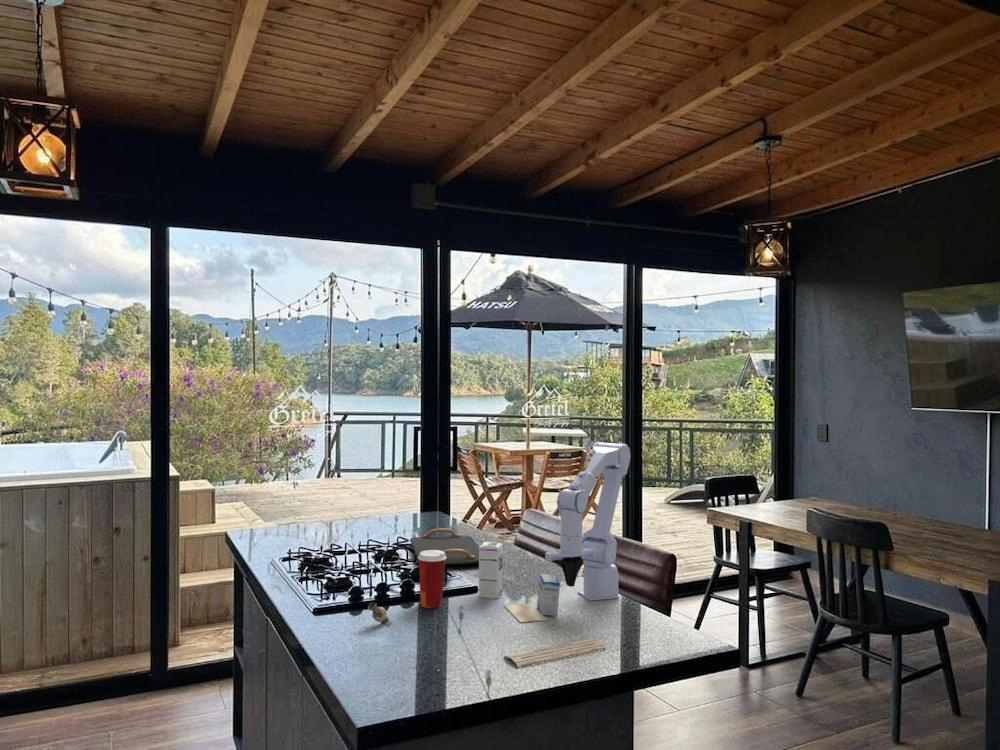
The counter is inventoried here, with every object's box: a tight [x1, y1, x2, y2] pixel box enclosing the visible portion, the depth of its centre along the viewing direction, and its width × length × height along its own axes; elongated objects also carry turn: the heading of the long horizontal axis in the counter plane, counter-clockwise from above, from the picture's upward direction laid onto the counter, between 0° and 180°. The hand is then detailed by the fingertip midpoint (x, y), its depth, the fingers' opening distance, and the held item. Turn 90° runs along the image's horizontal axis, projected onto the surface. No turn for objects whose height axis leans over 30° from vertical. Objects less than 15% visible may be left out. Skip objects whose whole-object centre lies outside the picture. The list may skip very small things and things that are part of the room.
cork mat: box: [504, 602, 549, 624], centre depth 186 cm, size 8×13×1 cm, turn 18°
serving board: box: [409, 527, 480, 567], centre depth 245 cm, size 39×23×6 cm, turn 12°
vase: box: [367, 601, 393, 629], centre depth 175 cm, size 5×5×6 cm
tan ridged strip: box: [503, 638, 607, 669], centre depth 160 cm, size 24×7×2 cm, turn 119°
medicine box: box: [536, 573, 561, 617], centre depth 188 cm, size 8×4×9 cm, turn 5°
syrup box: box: [478, 541, 504, 600], centre depth 201 cm, size 6×6×14 cm
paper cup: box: [417, 550, 446, 609], centre depth 191 cm, size 8×8×14 cm
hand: (570, 585), depth 190 cm, fingers closed
